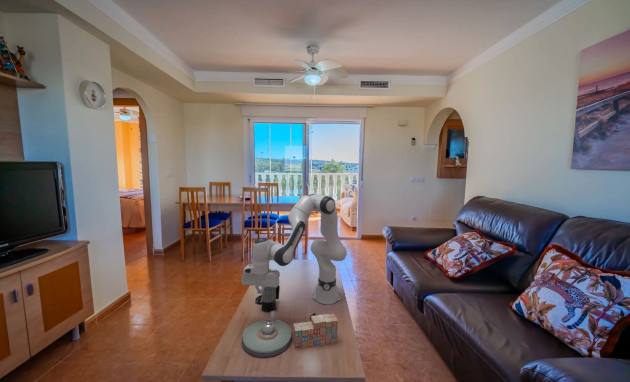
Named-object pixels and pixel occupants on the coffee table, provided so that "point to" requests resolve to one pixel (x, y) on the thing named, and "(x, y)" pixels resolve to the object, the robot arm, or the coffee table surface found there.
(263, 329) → the cover
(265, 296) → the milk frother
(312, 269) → the coffee table surface
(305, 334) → the stack of blocks
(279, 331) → the turntable
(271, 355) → the turntable base
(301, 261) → the coffee table surface
